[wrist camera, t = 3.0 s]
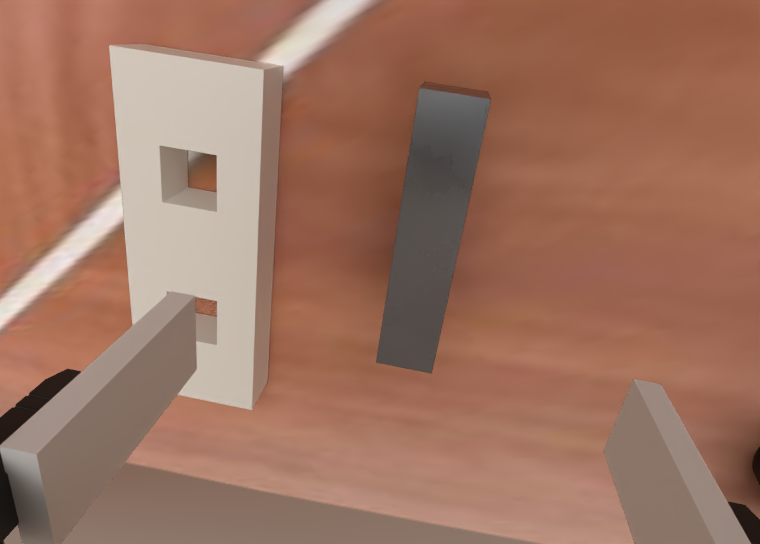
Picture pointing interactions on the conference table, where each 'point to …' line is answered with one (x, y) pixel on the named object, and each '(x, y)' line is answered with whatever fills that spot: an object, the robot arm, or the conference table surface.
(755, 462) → the coffee mug
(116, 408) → the robot arm
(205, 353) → the white slotted block
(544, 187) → the conference table surface
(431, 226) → the dark grey u-shaped bracket
